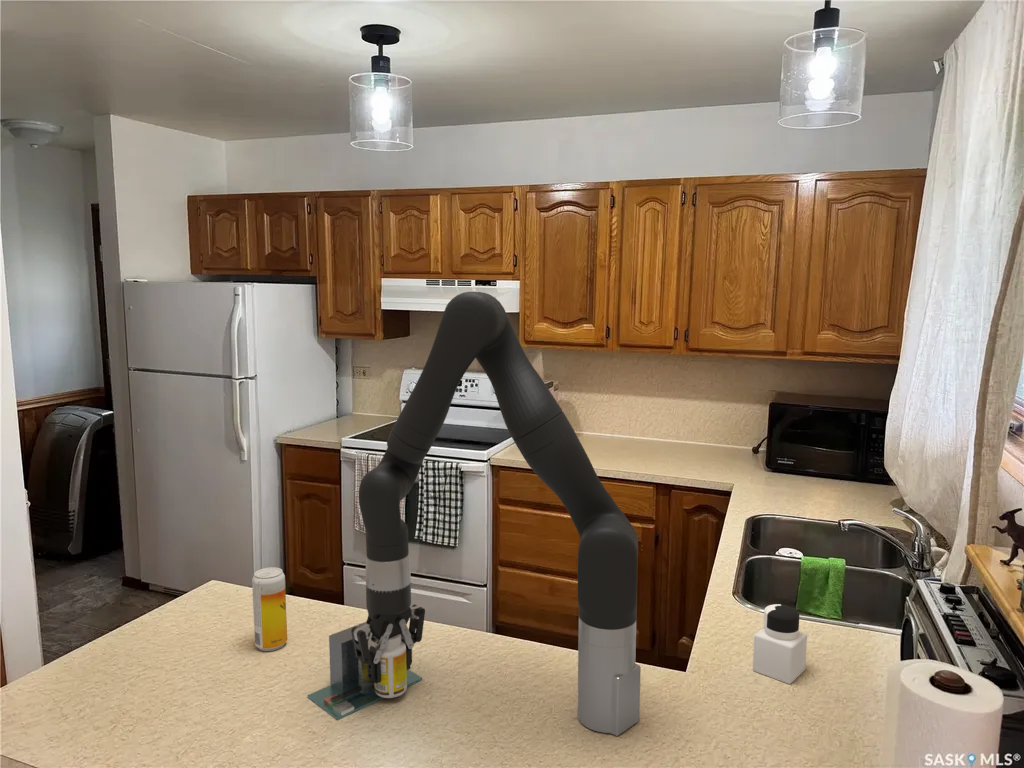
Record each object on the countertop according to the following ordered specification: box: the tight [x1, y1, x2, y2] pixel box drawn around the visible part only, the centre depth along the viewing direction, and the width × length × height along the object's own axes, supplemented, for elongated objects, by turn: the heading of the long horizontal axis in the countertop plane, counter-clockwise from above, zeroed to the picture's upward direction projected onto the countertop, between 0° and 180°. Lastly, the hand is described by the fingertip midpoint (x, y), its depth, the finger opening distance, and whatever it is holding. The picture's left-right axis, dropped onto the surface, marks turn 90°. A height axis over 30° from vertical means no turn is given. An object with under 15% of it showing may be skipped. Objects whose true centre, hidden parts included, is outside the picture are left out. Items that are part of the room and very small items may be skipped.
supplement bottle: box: [374, 634, 408, 699], centre depth 124 cm, size 6×6×10 cm
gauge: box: [306, 621, 423, 721], centre depth 126 cm, size 10×18×10 cm, turn 135°
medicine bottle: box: [752, 603, 808, 685], centre depth 132 cm, size 7×7×12 cm
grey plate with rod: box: [330, 644, 375, 703], centre depth 127 cm, size 8×14×8 cm, turn 135°
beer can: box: [251, 566, 288, 652], centre depth 142 cm, size 6×6×15 cm
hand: (390, 674), depth 124 cm, fingers closed on supplement bottle, 5 cm apart
